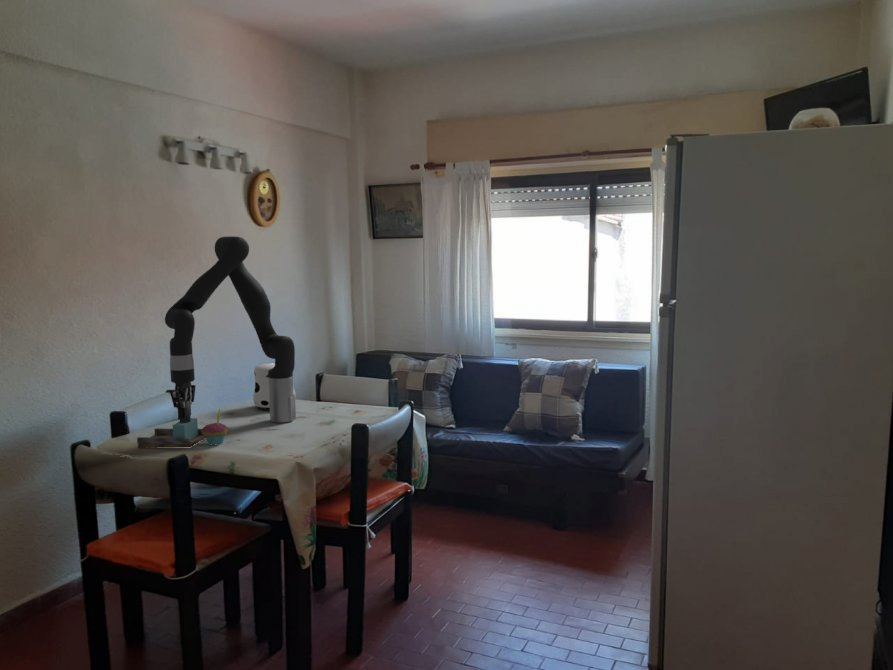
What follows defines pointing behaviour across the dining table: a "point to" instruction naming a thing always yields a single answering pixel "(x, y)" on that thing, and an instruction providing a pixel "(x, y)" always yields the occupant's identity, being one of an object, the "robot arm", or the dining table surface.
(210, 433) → the cupcake
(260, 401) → the milk container
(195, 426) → the press jaw
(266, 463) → the dining table surface
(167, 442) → the press base
